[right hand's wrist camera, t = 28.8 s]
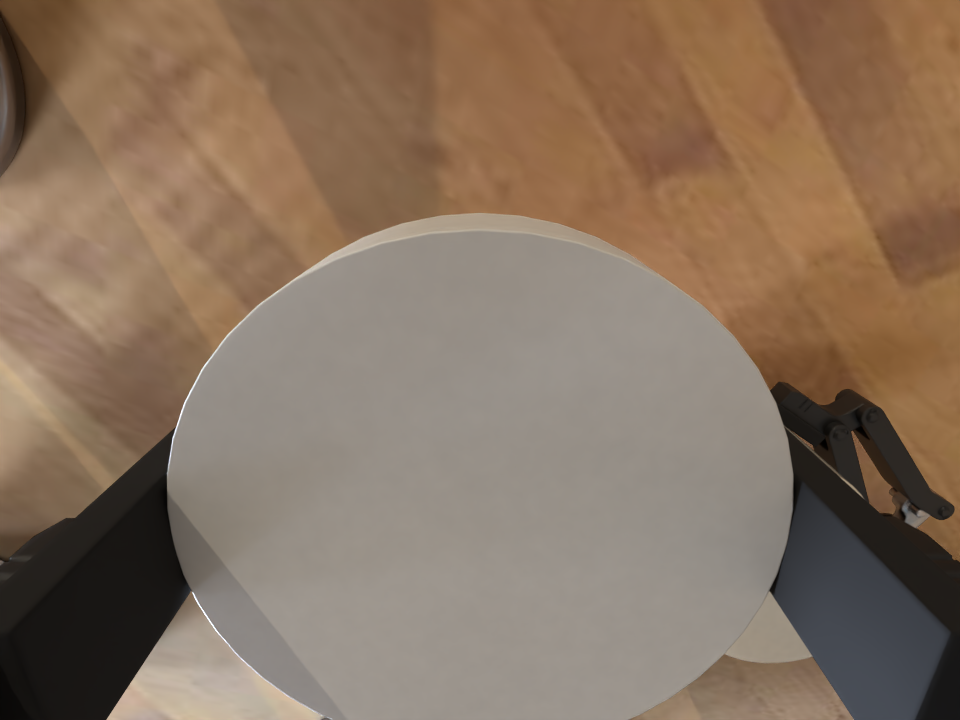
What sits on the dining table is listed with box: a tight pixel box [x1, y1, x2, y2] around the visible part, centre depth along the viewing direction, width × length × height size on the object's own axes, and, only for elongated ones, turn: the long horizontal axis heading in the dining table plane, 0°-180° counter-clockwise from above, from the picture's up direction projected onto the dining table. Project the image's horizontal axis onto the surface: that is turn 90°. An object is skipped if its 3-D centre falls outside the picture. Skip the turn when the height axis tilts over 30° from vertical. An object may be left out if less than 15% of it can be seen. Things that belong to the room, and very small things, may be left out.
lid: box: [167, 213, 793, 720], centre depth 11 cm, size 12×12×2 cm
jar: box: [725, 426, 864, 663], centre depth 32 cm, size 10×10×15 cm
